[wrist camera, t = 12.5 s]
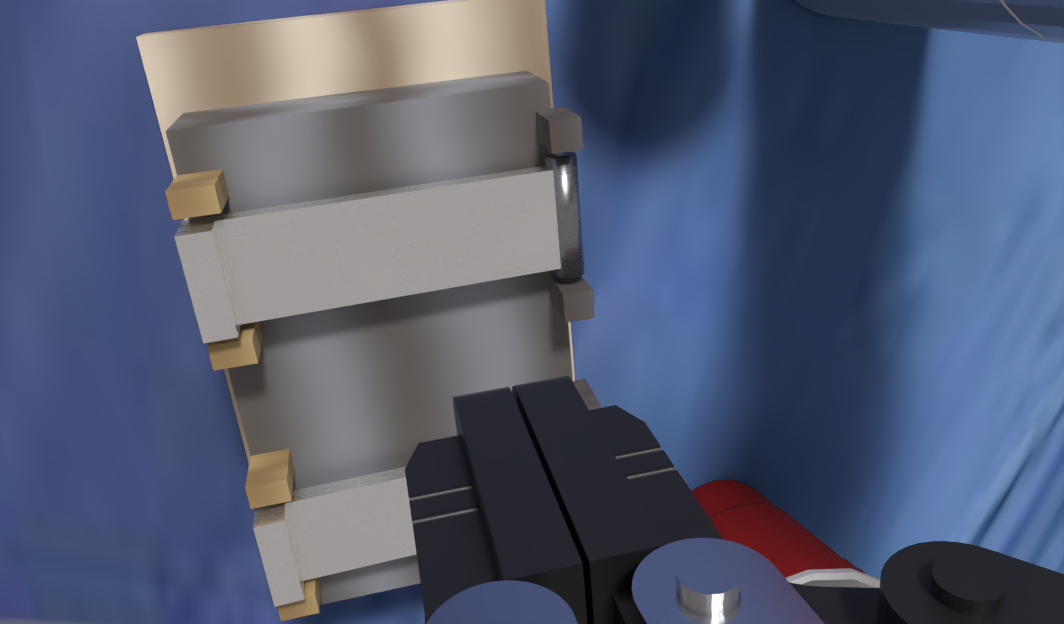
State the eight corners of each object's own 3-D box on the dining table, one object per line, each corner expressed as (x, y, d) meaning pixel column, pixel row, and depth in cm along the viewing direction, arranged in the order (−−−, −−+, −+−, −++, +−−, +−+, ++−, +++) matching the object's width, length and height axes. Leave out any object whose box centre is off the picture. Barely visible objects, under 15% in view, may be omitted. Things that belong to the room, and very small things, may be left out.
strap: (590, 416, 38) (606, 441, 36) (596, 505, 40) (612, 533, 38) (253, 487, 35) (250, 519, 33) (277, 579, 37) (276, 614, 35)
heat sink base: (533, -9, 37) (586, -1, 29) (578, 519, 48) (624, 625, 40) (146, 32, 34) (93, 53, 27) (288, 581, 45) (279, 705, 38)
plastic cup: (657, 427, 47) (755, 568, 36) (823, 451, 50) (959, 588, 39) (600, 587, 50) (674, 760, 39) (759, 600, 53) (867, 764, 42)
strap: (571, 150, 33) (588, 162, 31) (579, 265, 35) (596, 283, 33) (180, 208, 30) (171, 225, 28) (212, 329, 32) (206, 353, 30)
